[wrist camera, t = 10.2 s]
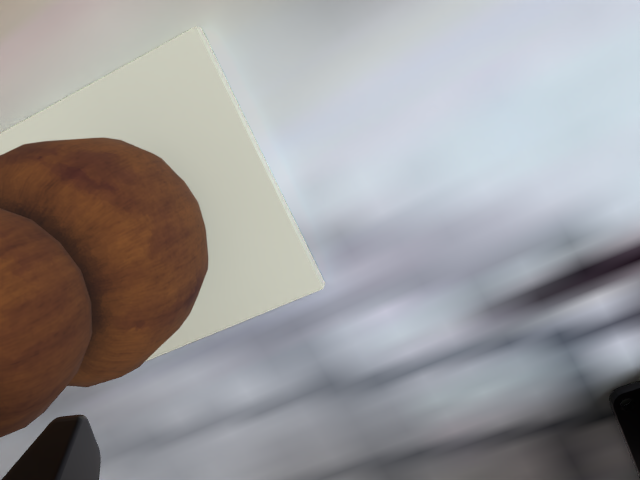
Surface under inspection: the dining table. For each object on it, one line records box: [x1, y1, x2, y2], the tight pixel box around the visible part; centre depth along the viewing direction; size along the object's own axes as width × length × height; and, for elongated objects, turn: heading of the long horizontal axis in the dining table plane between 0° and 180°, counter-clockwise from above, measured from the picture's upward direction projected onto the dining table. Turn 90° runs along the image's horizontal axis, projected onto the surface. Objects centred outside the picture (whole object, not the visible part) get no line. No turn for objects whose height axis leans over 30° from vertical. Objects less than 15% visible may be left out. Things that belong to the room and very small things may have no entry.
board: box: [0, 26, 325, 361], centre depth 22 cm, size 10×10×1 cm
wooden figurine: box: [0, 137, 208, 437], centre depth 14 cm, size 7×6×15 cm
